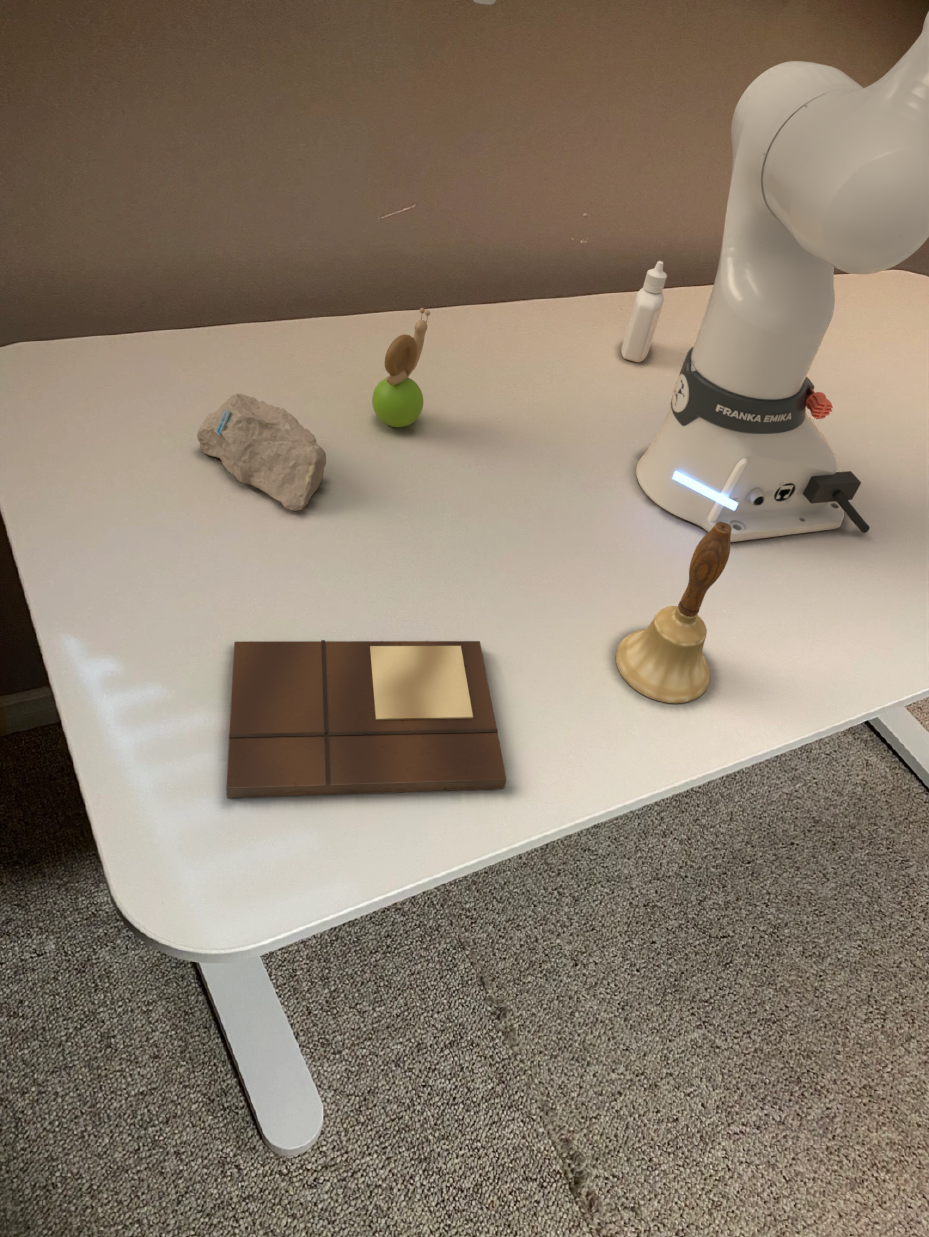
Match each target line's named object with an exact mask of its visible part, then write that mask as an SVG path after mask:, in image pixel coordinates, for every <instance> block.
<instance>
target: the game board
mask: <svg viewBox="0 0 929 1237" xmlns="http://www.w3.org/2000/svg"><path fill="white" fill-rule="evenodd" d="M232 660H233V661H232V662H233V663H232V679H231V680H232V681H231V698H230V699H231V700H230V713H229V714H230V715H229V732H228V749H227V767H226V768H227V770H226V787H225V789H226V790H225V791H226V798H228V799H231V798H236V799H237V798H264V797H299V796H323V795H324V796H327V795H353V794H354V795H355V794H357V795H358V794H385V793H387V794H388V793H389V794H390V793H417V792H419V793H420V792H447V791H450V792H451V791H476V790H477V791H478V790H479V791H481V790H504V789H505V787H506V783H507V775H506V769H505V764H504V760H503V754H502V749H501V744H500V738H499V730H498V727H497V723H496V718H495V712H494V708H493V702H492V697H491V692H490V686H489V682H488V677H487V670H486V667H485V666H486V665H485V661H484V656H483V651H482V645H481V641H480V640H438V641H437V640H411V641H410V640H391V641H390V640H384V641H383V640H379V641H378V640H370V641H369V640H367V641H365V640H364V641H363V640H359V641H358V640H350V641H349V640H346V641H345V640H343V641H341V640H338V641H337V640H334V641H333V640H330V641H329V640H327V641H326V640H325V639H321V641H317V640H314V641H313V640H312V641H311V640H309V641H306V640H305V641H303V640H302V641H300V640H298V641H296V640H295V641H293V640H292V641H290V640H289V641H284V640H283V641H280V640H279V641H278V640H277V641H276V640H275V641H271V640H270V641H269V640H268V641H267V640H266V641H265V640H264V641H259V640H258V641H257V640H256V641H252V640H251V641H234V644H233V659H232Z"/></svg>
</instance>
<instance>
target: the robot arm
mask: <svg viewBox="0 0 929 1237" xmlns="http://www.w3.org/2000/svg"><path fill="white" fill-rule="evenodd" d="M472 1H473V3H475V4H479V5H480V4H481V5H487V6H491V5H494V4H495V3H496V2H497V0H472ZM730 138H731V139H730V140H731V151H732V152H731V153H732V154H731V155H732V161H731V162H732V164H731V174H730V182H729V188H728V189H729V190H728V195H727V196H728V197H727V203H726V211H725V218H724V224H723V225H724V226H723V232H722V240H721V246H720V247H721V248H720V254H719V260H718V266H717V270H716V275H715V279H714V283H713V286H712V290H711V293H710V295H709V299H708V302H707V305H706V308H705V311H704V314H703V318H702V320H701V324H700V327H699V329H698V333H697V336H696V338H695V341H694V344H693V346H692V347H691V348H690V349H689V350H688V352H687V353H686V355H685V358H684V360H683V363H682V366H681V369H680V371H679V374H678V377H677V379H676V381H675V384H674V388H673V391H672V396H671V400H670V408H669V409H668V412H667V414H666V416H665V418H664V420H663V422H662V424H661V426H660V428H659V430H658V431H657V434H656V435H655V437H654V439H653V440H652V441H651V444H650V445H649V446H648V448H647V449H646V450H645V452H644V453H643V455H642V456H641V457H640V458H639V460H638V462H637V463H636V467H635V468H636V469H635V474H636V478H637V481H638V484H639V485H640V488H641V489H642V490H643V492H644V493H645V494H646V495H647V496H648V497H649V498H650V499H651V501H652V502H654V503H655V504H656V505H658V506H659V507H660V508H663V509H664V510H665V511H667V512H668V513H671V514H672V515H674V516H675V517H678V518H680V519H681V520H684V521H686V522H687V521H688V522H689V523H693V524H694V525H696V526H698V527H700V528H703V530H704V531H706V532H707V533H708V532H709V531H710V530H711V529H712V528H713V527H714V525H715V524H716V523H717V522H724V523H727V524H729V525H730V526H731V528H732V531H731V537H730V543H734V542H735V543H736V542H744V541H751V540H760V539H767V538H774V537H775V538H776V537H781V536H782V537H783V536H790V535H791V536H792V535H797V534H798V535H799V534H806V533H814V532H821V531H822V532H823V531H830V530H835V529H836V530H837V529H839V528H841V526H842V523H843V520H844V517H845V514H846V515H847V517H848V518H849V519H850V521H851V522H852V523H853V524H854V525H855V527H857V529H858V530H859V531H860V532H861V533H863V534H866V533H868V532H869V531H870V526H869V524H868V523H867V522H866V520H865V519H863V517H862V516H861V514H860V513H859V512H858V511H857V510H856V509H855V507H854V506H853V504H852V503H851V502H850V501H853V499H854V497H855V496H856V494H857V492H858V490H859V488H860V487H861V484H862V481H861V480H860V479H859V478H858V477H857V475H855V474H854V473H853V471H851V470H847V471H838V465H837V464H838V463H837V459H836V455H835V453H834V450H833V448H832V446H831V445H830V443H829V441H828V439H827V438H826V437H825V436H824V434H823V433H822V431H821V430H820V429H819V427H818V426H817V425H816V423H815V422H814V421H813V419H811V417H810V416H809V415H808V414H807V409H808V410H809V411H810V414H811V416H812V417H813V418H814V419H816V420H822V419H825V418H826V416H829V415H830V414H831V413H832V412H833V409H834V406H833V403H832V402H831V401H830V400H829V399H828V398H827V396H826V394H825V393H824V392H822V391H821V392H820V391H815V385H814V384H813V382H812V380H811V379H810V378H809V377H808V374H809V372H810V369H811V367H812V365H813V363H814V360H815V358H816V355H817V353H818V351H819V349H820V346H821V344H822V342H823V340H824V338H825V336H826V333H827V331H828V328H829V326H830V324H831V322H832V320H833V316H834V312H835V304H836V293H835V292H836V291H835V283H834V282H835V279H834V278H835V276H834V274H835V269H838V270H839V271H841V272H844V273H847V274H851V275H859V276H861V275H862V276H865V275H866V276H867V275H873V274H874V275H875V274H878V273H882V272H884V271H887V270H890V269H891V268H893V267H895V266H897V265H899V264H901V263H903V262H905V261H906V259H908V258H909V257H911V256H912V255H913V254H914V253H916V252H917V251H918V250H919V249H920V248H921V247H922V246H923V244H924V243H925V242H927V240H928V239H929V10H928V11H927V14H926V16H925V18H924V22H923V26H922V30H921V32H920V35H919V36H918V37H917V39H916V40H915V42H914V43H913V44H912V45H911V47H910V48H908V50H907V51H906V52H905V53H904V55H903V56H902V57H901V58H900V59H899V60H898V61H897V62H896V63H895V64H894V66H892V67H891V68H890V69H889V70H888V72H886V73H885V74H884V75H883V76H882V77H881V78H879V79H878V80H876V81H875V82H873V83H871V84H869V85H868V86H865V87H863V86H862V85H860V83H858V82H857V81H856V80H854V79H853V78H852V77H850V76H849V75H848V74H846V73H845V72H844V71H843V70H840V69H839V68H836V67H834V66H830V65H826V64H823V63H817V62H813V61H801V60H792V61H790V60H789V61H785V62H782V63H781V62H780V63H779V64H776V65H774V66H772V67H770V68H768V69H767V70H765V71H764V72H762V73H761V74H760V75H758V76H757V77H756V78H755V79H754V80H753V81H752V82H751V83H750V84H749V85H748V86H747V88H746V89H745V90H744V92H743V93H742V95H741V96H740V98H739V100H738V102H737V104H736V106H735V109H734V112H733V115H732V119H731V126H730Z"/></svg>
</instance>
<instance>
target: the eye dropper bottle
mask: <svg viewBox="0 0 929 1237" xmlns="http://www.w3.org/2000/svg"><path fill="white" fill-rule="evenodd" d="M667 278H668V274H667V273H666V272H665V271H664V262H663V261H661V260H658V261H657V262H656V264H655V266H654V268H650V269H648V270H647V272H646V275H645V278H644V282H643V285H642V287H641V288H640V289H639V290H638V291H637V293H636V295H635V298H634V302H633V306H632V309H631V312H630V316H629V320H628V324H627V327H626V330H625V333H624V337H623V342H622V344H621V349H620V352H621V356H622V358H623V359H624V360H627V361H631V362H634V363H641V362H643V361H644V360H645V359H646V358H647V357H648V355H649V351H650V348H651V344H652V341H653V339H654V335H655V332H656V329H657V325H658V321H659V319H660V315H661V312H662V309H663V306H664V301H665V297H664V296H665V295H664V293H663V291H664V288H665V285H666V281H667Z"/></svg>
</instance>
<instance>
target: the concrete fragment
mask: <svg viewBox="0 0 929 1237" xmlns="http://www.w3.org/2000/svg"><path fill="white" fill-rule="evenodd" d="M196 436H197V440H198V442H199V443H200V444H199V445H200V446H199V448H200V451H201V452H202V453H203V454H205V455H208V456H210V457H213V458H214V457H215V458H218V459H220V461H221V463H222V466H223V467H224V468H225V469H226V471H227V472H228V473H230V474H232V475H233V477H235V479H236V480H237V481H238V482H239V483H242V484H248V485H252V486H253V487H255V488H257V489H259V490H260V491H262V492H264V493H265V494H267V495H268V496H269V497H271V498H272V499H274V500H276V501H278V502H279V503H281V505H282V506H283V508H284V509H287V510H290V511H294V512H295V511H302V510H303V509H304V508H305V507H306V506H307V505H308V504H309V503H310V499H311V498H312V496H313V494H314V493H315V492H316V491H317V490H319V488H320V485H321V482H322V481H323V479H324V473H325V467H326V465H327V452H326V451H325V450H324V448H323V447H322V446H320V445H319V444H318V443H317V438H316V436H315V434H313V433H312V432H311V431H310V430H309V429H307V428H305V427H304V426H303V424H300V423H299V421H298V418H296V417H295V416H294V415H293V414H291V413H290V412H288V411H287V410H286V408H285V409H284V408H280V407H278V406H275V405H273V404H269V403H267V402H265V401H263V400H261V401H260V400H258V399H257V398H256V397H253V396H249V395H246V394H242V393H235V394H233V395H231V396H230V397H229V398H228V399H226V401H224V402H223V403H221V405H220V406H219V407H218V408H217V410H215V411H214V412H213V413H209V414H208V415H207V416H206V417H205V418H204V421H203V422H202V424H200V426H199V427H198V430H197V435H196Z"/></svg>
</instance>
